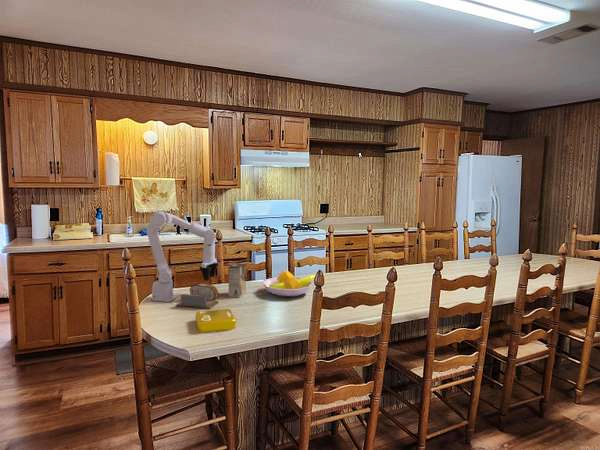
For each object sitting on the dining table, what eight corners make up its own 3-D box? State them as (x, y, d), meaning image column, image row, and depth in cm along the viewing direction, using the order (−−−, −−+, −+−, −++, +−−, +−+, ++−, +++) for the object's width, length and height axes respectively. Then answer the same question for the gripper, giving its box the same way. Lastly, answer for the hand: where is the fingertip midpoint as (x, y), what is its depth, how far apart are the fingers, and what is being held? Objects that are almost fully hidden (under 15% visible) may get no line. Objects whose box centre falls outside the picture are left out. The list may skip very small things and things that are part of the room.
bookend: (181, 307, 188) (181, 294, 187) (182, 306, 189) (182, 293, 188) (205, 309, 185) (205, 296, 185) (206, 308, 187) (206, 295, 186)
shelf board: (176, 306, 188) (176, 304, 188) (185, 300, 198) (185, 298, 198) (210, 309, 185) (210, 307, 185) (218, 302, 195) (218, 301, 195)
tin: (218, 301, 197) (218, 285, 196) (215, 303, 194) (215, 286, 193) (192, 297, 202) (192, 281, 201) (188, 299, 199) (188, 283, 198)
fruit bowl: (255, 297, 205) (256, 276, 203) (273, 284, 231) (273, 265, 229) (308, 303, 197) (309, 281, 196) (320, 289, 223) (321, 269, 222)
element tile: (236, 330, 162) (236, 319, 162) (198, 334, 157) (198, 322, 157) (230, 317, 176) (230, 307, 176) (195, 321, 171) (195, 310, 171)
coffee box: (234, 292, 214) (234, 262, 212) (245, 293, 212) (246, 263, 211) (228, 297, 205) (228, 266, 203) (239, 298, 204) (240, 267, 202)
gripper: (211, 255, 194) (211, 282, 196) (221, 250, 209) (221, 275, 210) (197, 254, 196) (197, 281, 197) (209, 249, 210) (209, 274, 212)
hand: (209, 278), depth 204 cm, fingers open, 7 cm apart
